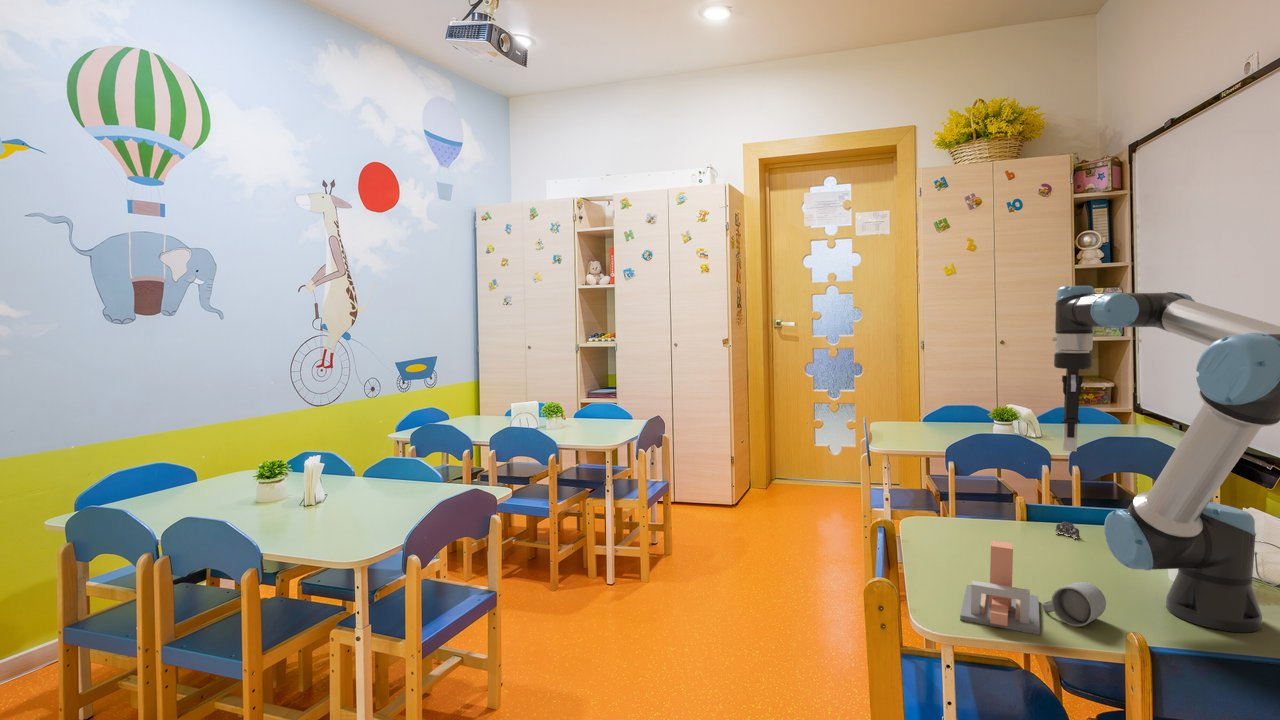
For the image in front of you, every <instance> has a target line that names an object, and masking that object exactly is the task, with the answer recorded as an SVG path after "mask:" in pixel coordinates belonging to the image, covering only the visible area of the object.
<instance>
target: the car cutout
mask: <svg viewBox="0 0 1280 720" xmlns="http://www.w3.org/2000/svg"><path fill="white" fill-rule="evenodd" d="M1054 531H1055V534H1056V533H1058V532H1060V533H1063V534H1067V535H1070V536H1073V538H1075V537H1077V538H1078V537H1079V538H1081V535H1080V530H1079V529H1078V528H1077V527H1075V525H1074V524H1073V523H1072V522H1069V521H1061V523H1057V524H1056V527H1055V530H1054ZM1073 538H1072V539H1073ZM1079 538H1078V539H1079Z"/></svg>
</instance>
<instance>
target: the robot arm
mask: <svg viewBox="0 0 1280 720" xmlns="http://www.w3.org/2000/svg"><path fill="white" fill-rule="evenodd" d="M1056 291H1057V292H1056V301H1055V304H1054V305H1055V329H1054V330H1055V337H1052V338H1051V341H1052V342H1055V343H1054V349H1055V350H1056V352H1055V353H1054V361H1053V364H1054V365H1053V366H1054V368H1056V369H1060V370H1061V369H1062V370H1063V369H1065V370H1066V371H1065V372H1066V373H1065V375H1064V374H1063V375H1062V376H1061V381H1062V392H1063V394H1064V401H1063V402H1064V404H1063V420H1060V422H1061V423H1060V424H1063V437H1062V438H1063V439H1062V440H1063V443H1062V451H1064V452H1078V451H1077V450H1078V447H1077V446H1078V424H1080V423H1081V420H1080V419H1079V406H1080V395H1081V394H1082V393H1081V392H1082V384H1083V376H1082V375H1080V372H1079V371H1080V370H1089V369H1092V363H1093V362H1092V359H1093V354H1092V353H1091V351H1093V345H1094V344H1093V343H1094V340H1093V339H1094V338H1093V337H1094V328H1106V329H1118V328H1120V329H1121V328H1156V329H1160V330H1163V331H1166V332H1169V333H1172V334H1175V335H1178V336H1180V337H1184V338H1186V339H1189V340H1191V341H1194V342H1197V343H1199V344H1202V345H1205V346H1207V348H1206V349H1204V351H1203V352H1202V354H1200V357H1199V359H1198V361H1197V364H1196V368H1195V369H1196V371H1195V372H1196V373H1197V372H1198V375H1197V376H1195V377H1196V378H1195V379H1196V383H1197V387H1198V388H1199V392H1198V393H1199V397H1200V399H1201V401H1203V404H1202V406H1201V407H1200V409H1199V411H1198V412H1197V414H1196V415H1195V417H1194V418H1193V420H1192V421H1191V423H1190V425H1189V427H1188V428H1187V430H1186V431H1185V433H1184V434H1183V437H1181V440H1180V441H1179V443H1178V444H1177V446H1176V448H1175V449H1174V450H1173V452H1172V454H1171V456H1170V457H1169V458H1168V461H1167V462H1166V464H1165V466H1164V467H1163V469H1162V471H1161V472H1160V474H1159V475H1158V477H1157V478H1156V480H1155V482H1154V484H1153V485H1152V486H1151V488H1150V490H1149V491H1143V492H1139V493H1138V494H1136V496H1134V498H1133V500H1132V501H1131V503H1130V505H1129V506H1128V508H1127V509H1125V510H1123V509H1116V510H1112V511H1111V512H1109V513H1108V514H1107V516H1106V517H1105V520H1104V526H1103V529H1104V531H1103V532H1104V537H1105V541H1106V543H1107V546H1108V548H1109V549H1108V550H1109V551H1110V552H1111V553H1112V555H1113V557H1114V558H1115V559H1116V561H1118V562H1119V563H1120V564H1121V565H1123V566H1124V567H1126V568H1128V569H1131V570H1144V571H1151V570H1156V571H1157V570H1178V571H1177V574H1176V576H1175V578H1174V580H1173V582H1172V584H1171V586H1170V588H1169V590H1168V593H1167V594H1166V599H1165V600H1166V601H1165V602H1166V604H1165V608H1166V610H1167V612H1169V613H1170V614H1172V615H1174V616H1175V617H1177V618H1179V619H1181V620H1183V621H1186V622H1189V623H1192V624H1195V625H1197V626H1200V627H1201V626H1202V627H1205V628H1210V629H1213V630H1218V631H1224V632H1225V631H1226V632H1233V633H1252V632H1257V631H1259V630H1261V629H1262V628H1263V614H1262V611H1261V608H1260V604H1259V602H1258V600H1257V596H1256V594H1255V590H1254V587H1253V573H1254V560H1255V558H1254V557H1255V545H1256V536H1257V533H1256V527H1255V524H1256V523H1255V521H1256V520H1255V518H1254V517H1253V515H1252V514H1251V513H1249V512H1247V511H1245V510H1244V509H1240V508H1237V507H1234V506H1230V505H1226V504H1221V503H1217V502H1211V501H1212V499H1213V498H1214V496H1215V495H1216V493H1217V492H1218V490H1219V489H1220V487H1221V486H1222V485H1223V483H1224V482H1225V480H1226V479H1227V477H1228V476H1229V475H1230V474H1231V471H1232V470H1233V468H1234V467H1236V464H1237V463H1238V462H1239V460H1240V459H1241V457H1242V456H1243V454H1244V453H1245V452H1246V450H1247V449H1248V447H1249V446H1250V445H1251V443H1252V441H1253V440H1254V438H1255V437H1256V435H1257V434H1258V433H1259V431H1260V430H1261V428H1262V427H1272V426H1275V425H1277V424H1279V422H1280V325H1276V324H1273V323H1269V322H1266V321H1263V320H1260V319H1256V318H1253V317H1249V316H1245V315H1242V314H1239V313H1235V312H1232V311H1228V310H1224V309H1221V308H1217V307H1214V306H1210V305H1209V304H1208V305H1207V304H1204V303H1201V302H1197V301H1196V300H1195V299H1194V298H1192V296H1191V295H1189V294H1187V293H1184V292H1174V291H1167V292H1111V291H1110V292H1105V293H1095V288H1094V287H1093V286H1092V285H1069V286H1068V285H1067V286H1064V285H1063V286H1061V287H1059V288H1057V290H1056Z"/></svg>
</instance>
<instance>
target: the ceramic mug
mask: <svg viewBox="0 0 1280 720" xmlns="http://www.w3.org/2000/svg"><path fill="white" fill-rule="evenodd" d="M1041 605H1042V608H1043V610H1044V612H1048V613H1050V612H1051V613H1053V612H1054V614H1055V616H1056V617H1057V618H1058V619H1059V620H1060V621H1061V622H1063V623H1065V624H1067V625H1068V626H1073V627H1077V628H1078V627H1085V626H1086V625H1088V624H1090V623H1091V622H1092V621H1094V620H1096V619H1098V618H1100V617H1101V616H1102V615H1103V614H1104V612H1105V610H1106V607H1107V600H1106V597H1105V595H1104V593H1103V592H1102V590H1100V588H1098V586H1096V585H1094V584H1093V583H1089V582H1084V581H1079V582H1077V581H1076V582H1073V583H1071V584H1069V585H1068V584H1067V585H1064V586H1062V587H1059V588H1058V589H1056V590H1055V591H1054V593H1053V594H1052V596H1051V600H1047V601H1045V602H1042V604H1041Z"/></svg>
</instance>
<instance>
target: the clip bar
mask: <svg viewBox="0 0 1280 720" xmlns="http://www.w3.org/2000/svg"><path fill="white" fill-rule="evenodd" d="M990 542H991V543H990V565H989V566H990V567H989V583H991V584H997V585H1003V586H1009V587H1013V565H1014V560H1013V559H1014V543H1013V542H1007V541H1005V542H1004V541H1001V540H1000V541H998V540H991V541H990ZM1011 604H1012V598H1006V597H1000V596H994V595H990V599H989V607H990V608H991V612H990V623H993V624H998V625H1004V626H1007V624H1008V611H1011Z"/></svg>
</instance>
